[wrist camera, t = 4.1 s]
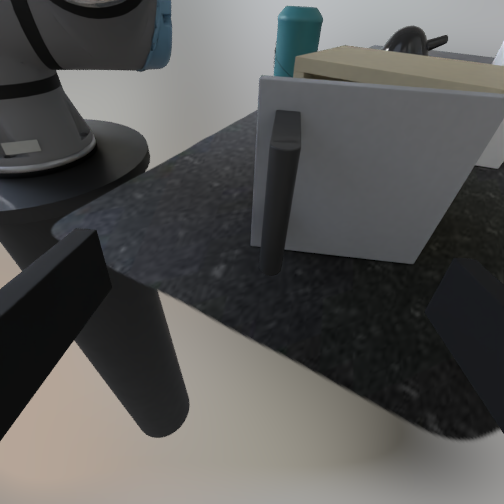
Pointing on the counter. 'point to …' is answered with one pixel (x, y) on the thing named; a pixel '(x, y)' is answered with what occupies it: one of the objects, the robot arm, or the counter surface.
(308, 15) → the beverage bottle
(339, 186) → the oven door
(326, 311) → the counter surface
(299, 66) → the oven
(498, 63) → the milk
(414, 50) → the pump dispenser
